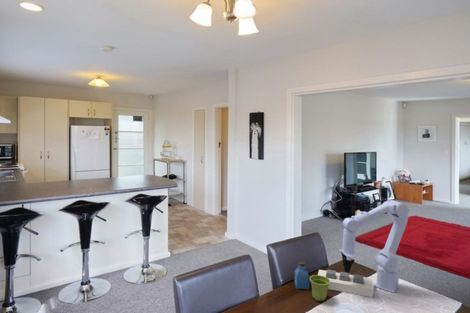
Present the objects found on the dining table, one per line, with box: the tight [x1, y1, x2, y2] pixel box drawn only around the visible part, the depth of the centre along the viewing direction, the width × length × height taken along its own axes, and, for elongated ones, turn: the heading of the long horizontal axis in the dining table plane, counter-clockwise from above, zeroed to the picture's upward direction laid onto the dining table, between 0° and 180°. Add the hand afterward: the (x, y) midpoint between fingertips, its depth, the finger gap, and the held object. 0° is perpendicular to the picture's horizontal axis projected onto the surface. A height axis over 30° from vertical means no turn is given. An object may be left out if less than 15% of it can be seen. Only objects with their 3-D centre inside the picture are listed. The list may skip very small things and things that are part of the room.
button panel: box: [317, 269, 374, 298], centre depth 154 cm, size 26×12×4 cm, turn 69°
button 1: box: [326, 269, 337, 279], centre depth 156 cm, size 4×4×4 cm
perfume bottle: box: [293, 260, 311, 290], centre depth 153 cm, size 6×6×12 cm
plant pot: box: [309, 274, 331, 302], centre depth 142 cm, size 9×9×9 cm
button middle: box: [339, 271, 350, 282], centre depth 154 cm, size 4×4×4 cm
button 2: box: [353, 273, 364, 284], centre depth 151 cm, size 4×4×4 cm
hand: (346, 269), depth 152 cm, fingers open, 7 cm apart
